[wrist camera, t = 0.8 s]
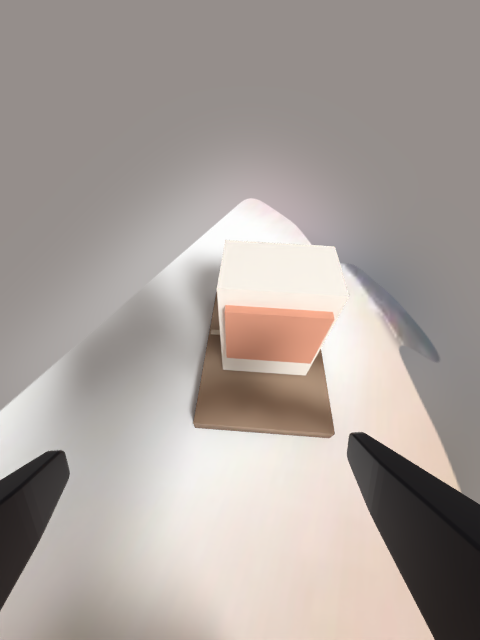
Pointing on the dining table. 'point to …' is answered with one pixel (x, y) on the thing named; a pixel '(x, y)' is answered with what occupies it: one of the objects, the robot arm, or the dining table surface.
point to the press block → (277, 304)
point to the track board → (261, 397)
